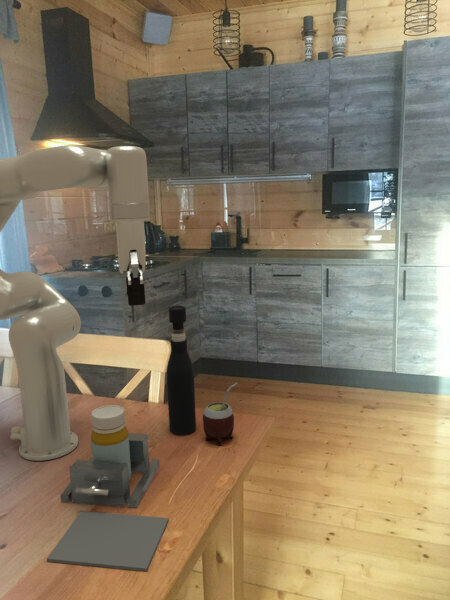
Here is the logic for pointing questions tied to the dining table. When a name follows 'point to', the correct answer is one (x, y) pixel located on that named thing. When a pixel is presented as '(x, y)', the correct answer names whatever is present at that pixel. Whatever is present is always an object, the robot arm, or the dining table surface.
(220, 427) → the mate gourd
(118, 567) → the mat
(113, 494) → the vise
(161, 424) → the dining table surface
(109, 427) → the bottle
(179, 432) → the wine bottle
